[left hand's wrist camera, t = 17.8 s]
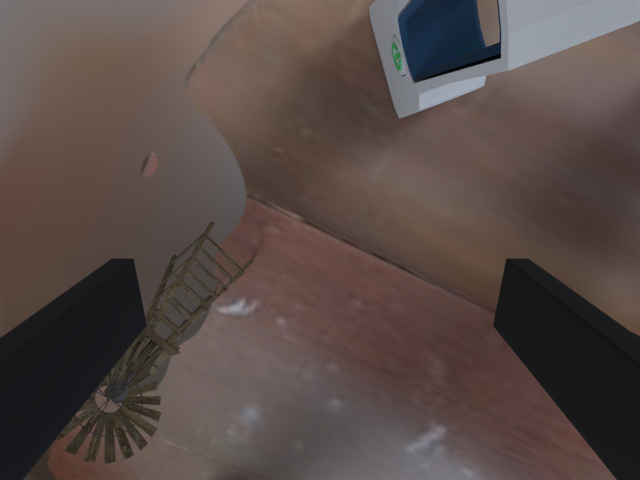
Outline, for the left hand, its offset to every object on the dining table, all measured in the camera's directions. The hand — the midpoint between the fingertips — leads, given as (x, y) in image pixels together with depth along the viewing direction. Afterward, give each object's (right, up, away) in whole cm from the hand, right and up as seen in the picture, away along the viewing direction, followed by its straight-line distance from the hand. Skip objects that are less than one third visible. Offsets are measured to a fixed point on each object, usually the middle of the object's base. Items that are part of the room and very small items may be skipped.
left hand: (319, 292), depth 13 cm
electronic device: (+11, +24, +29) cm, 39 cm away
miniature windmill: (-15, -1, +38) cm, 41 cm away
